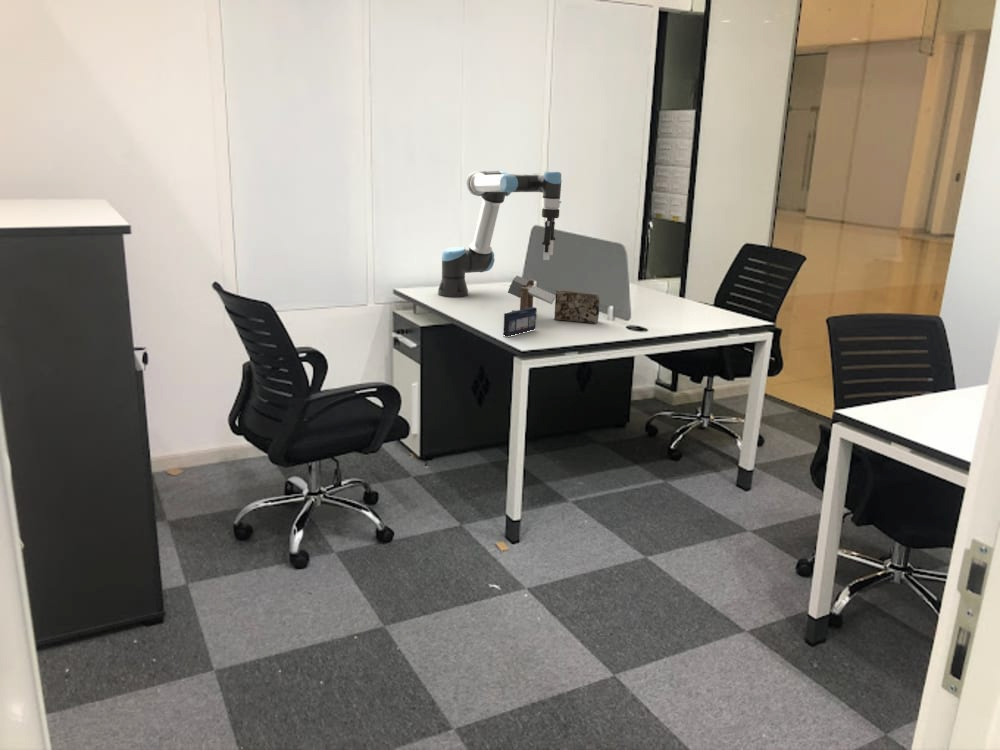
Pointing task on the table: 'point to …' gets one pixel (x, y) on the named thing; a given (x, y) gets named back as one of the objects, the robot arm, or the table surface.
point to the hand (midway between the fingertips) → (547, 257)
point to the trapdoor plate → (530, 290)
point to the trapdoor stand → (526, 297)
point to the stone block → (577, 306)
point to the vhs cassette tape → (519, 321)
